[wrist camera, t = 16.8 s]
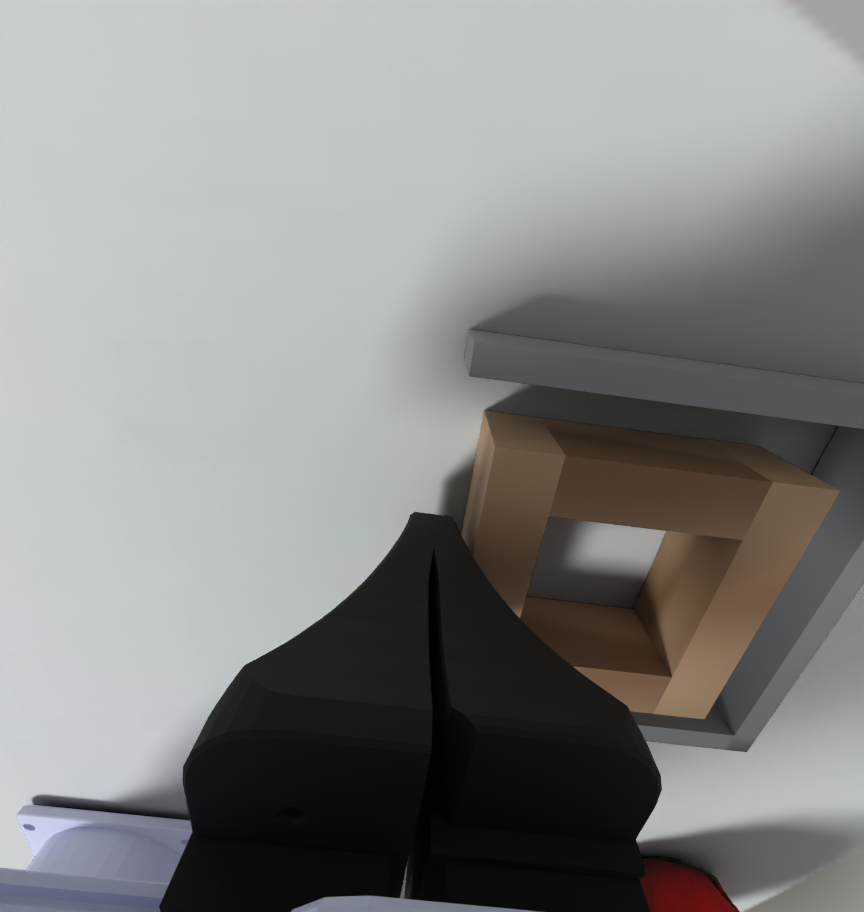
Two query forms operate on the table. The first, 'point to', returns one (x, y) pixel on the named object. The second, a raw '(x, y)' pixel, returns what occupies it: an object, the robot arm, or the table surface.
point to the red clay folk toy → (682, 888)
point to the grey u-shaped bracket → (842, 466)
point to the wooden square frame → (678, 559)
